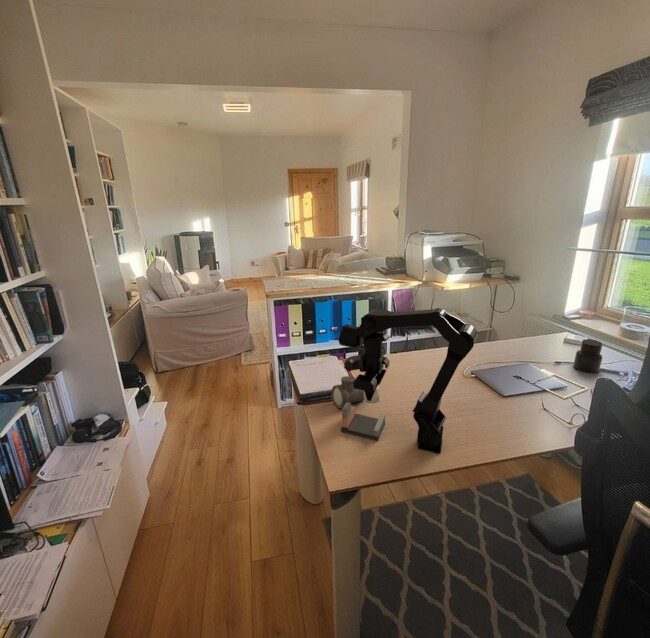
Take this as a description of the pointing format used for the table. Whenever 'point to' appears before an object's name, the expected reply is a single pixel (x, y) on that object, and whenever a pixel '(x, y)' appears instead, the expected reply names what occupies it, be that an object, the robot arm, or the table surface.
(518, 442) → the table surface
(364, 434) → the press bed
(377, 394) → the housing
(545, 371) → the photo frame
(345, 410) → the tan and grey slab
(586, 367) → the ink bottle
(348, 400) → the pipe fitting
